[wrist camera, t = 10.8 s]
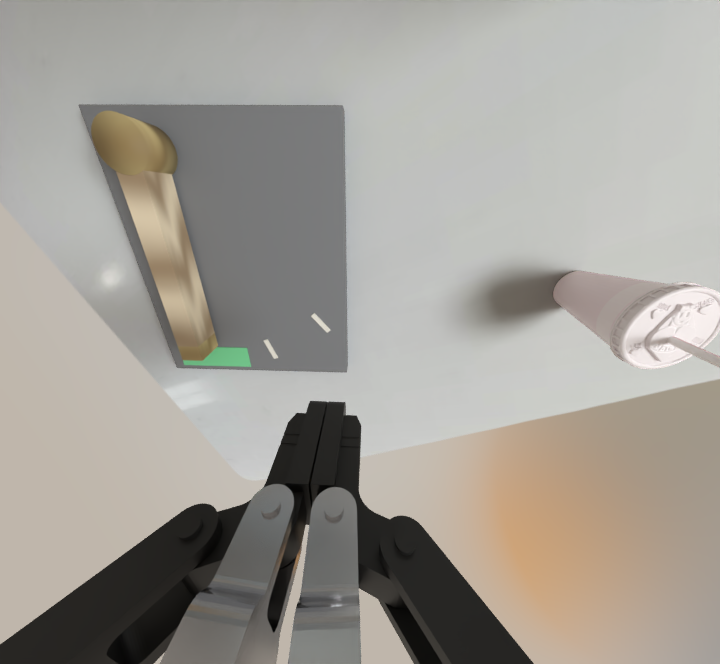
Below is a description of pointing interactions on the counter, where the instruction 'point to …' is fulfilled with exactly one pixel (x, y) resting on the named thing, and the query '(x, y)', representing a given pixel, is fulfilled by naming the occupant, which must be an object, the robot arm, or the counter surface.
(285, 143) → the dial plate
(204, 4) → the counter surface
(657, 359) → the smoothie
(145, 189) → the dial lever
